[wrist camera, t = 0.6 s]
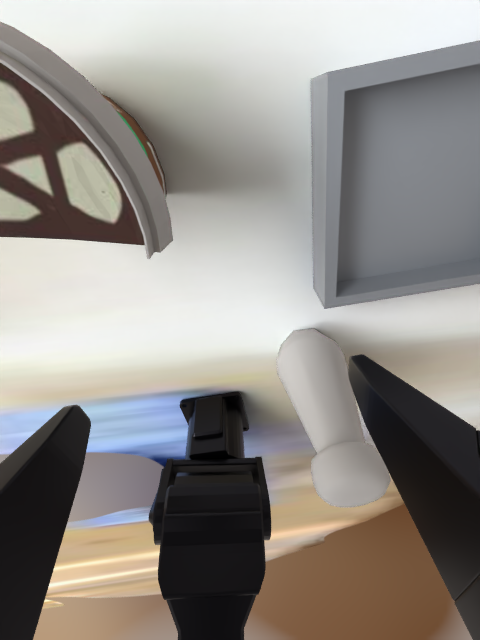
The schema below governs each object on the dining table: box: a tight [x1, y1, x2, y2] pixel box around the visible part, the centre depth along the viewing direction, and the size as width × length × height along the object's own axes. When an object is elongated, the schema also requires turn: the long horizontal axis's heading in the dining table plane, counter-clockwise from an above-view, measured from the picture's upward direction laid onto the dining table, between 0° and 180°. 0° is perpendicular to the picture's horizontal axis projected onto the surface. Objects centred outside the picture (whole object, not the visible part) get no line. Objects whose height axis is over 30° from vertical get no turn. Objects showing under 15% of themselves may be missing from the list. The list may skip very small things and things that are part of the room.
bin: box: [311, 41, 480, 309], centre depth 17 cm, size 13×13×3 cm
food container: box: [0, 22, 173, 259], centre depth 12 cm, size 12×6×10 cm, turn 84°
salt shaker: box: [276, 328, 390, 507], centre depth 21 cm, size 6×6×13 cm
